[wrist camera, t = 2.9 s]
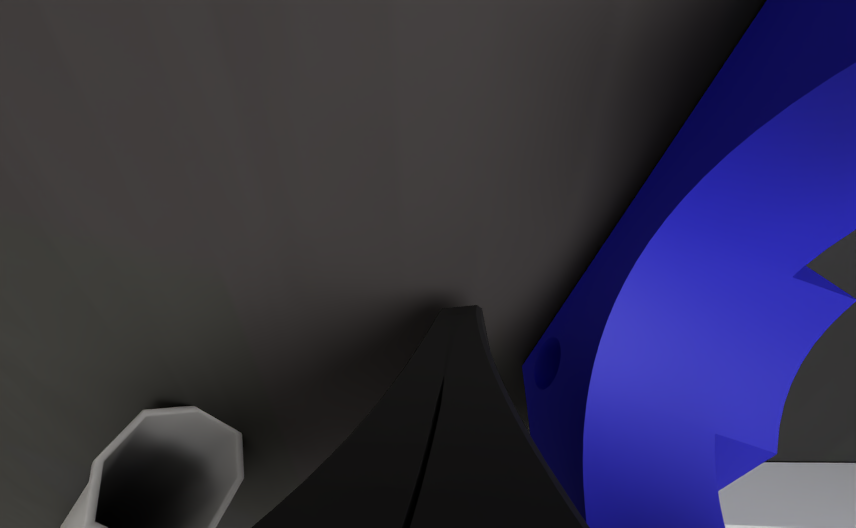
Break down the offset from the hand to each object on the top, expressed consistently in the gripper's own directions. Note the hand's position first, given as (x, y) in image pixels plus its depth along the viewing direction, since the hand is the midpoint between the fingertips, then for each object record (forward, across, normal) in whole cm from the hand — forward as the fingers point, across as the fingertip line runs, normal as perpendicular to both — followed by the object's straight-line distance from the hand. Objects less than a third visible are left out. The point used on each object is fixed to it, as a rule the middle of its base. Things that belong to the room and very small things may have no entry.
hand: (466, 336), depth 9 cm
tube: (+2, +23, +12) cm, 26 cm away
